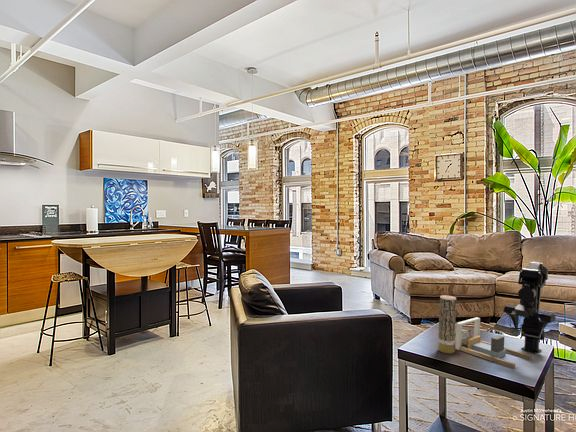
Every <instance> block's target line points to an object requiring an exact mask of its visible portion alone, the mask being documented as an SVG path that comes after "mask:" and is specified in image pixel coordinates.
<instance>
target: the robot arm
mask: <svg viewBox="0 0 576 432" xmlns="http://www.w3.org/2000/svg"><path fill="white" fill-rule="evenodd" d="M548 279H549V272H548V268H547V267H545V266H544V264H543V262H541V261H530V262H529V265H528V266H527V267H522V268H521V270H519V276H518V282H517V285H520V286H521V288H520V289H519V290H518V293H517V295H518V298H519V299H520V300H519V302H518V304H517V305H512V304H508V305H504V306H503V311H502V312H503V313H505V314H506V315H507V316H508V317H510V318H511V322H512V324H513V326H514V329H515V331H518V329H519V318H520V317H523V320H522V323H521V325H520V336H521V337H524V346H523V347H521V349H520V350H522V351H526V352H530V353H533V354H538V353H541V352H542V351H543V350H542V349H540V341H544V340H545V337H546V336H545V335H546V334H545V329H546V327H547V325H549V324H550V323H554V322H556V315H555V314H553V313H549V312H542V313H540V304H541V295H542V288H544V287H545V286H546V282H547V281H548Z"/></svg>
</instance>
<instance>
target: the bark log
mask: <svg viewBox="0 0 576 432" xmlns="http://www.w3.org/2000/svg"><path fill="white" fill-rule="evenodd" d="M439 297H440V298H439V315H438V341H437V342H438V343H437V344H438V346H437V349H438V352H441V353H443V354H449V355H450V354H454V353H455V344H456V338H455V333H456V318H457V317H456V314H457V297H456V296H452V295H445V294H443V295H440V296H439Z"/></svg>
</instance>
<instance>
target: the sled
mask: <svg viewBox="0 0 576 432" xmlns="http://www.w3.org/2000/svg"><path fill="white" fill-rule="evenodd" d="M481 340H482V336H481V335H480V336H476V337H474V336H473V337H472V338H471V339H468V345H467V348H469V349H472V350H475V351H478V352H481V353H484V354H487V355H490V356H493V357H496V358H499V359H501V358H502V357H504V356H506V355H507V352H506V350H504V347H505V336H503V335H499V334H498V335H496V336H493V337H491V339H490V341H491V342H490V343H491V345H488V344H485V343H482V342H481Z"/></svg>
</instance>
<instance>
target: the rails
mask: <svg viewBox="0 0 576 432" xmlns="http://www.w3.org/2000/svg"><path fill="white" fill-rule="evenodd" d="M481 342H482V343H485V344H488V345H491V342H489V341H485V340H482V339H481ZM504 350H506V354H510V355H512V356H513V355H514V356H516V357H517V356H518V357H520V358H523V359H527V360H528V361H529V360H530V361H532V360H533V358H534V356H533V354H532V355H531V354H528V353H525V352H522V351H519V350H515V349H511V348H508V347H505V346H504ZM460 351H462V352H464V353H467V354H469V355H472V356H476V357H478V358H482V359H485V360H488V361H491V362H493V361H494V363H495V364H499V365H501V366H505V367H508V368H510V369H511V368H512V369H516V368H517V367H516V366H517V365H516V363H514V362H512V361H509V360H505V359H502V358H496V357H493V356H490V355H487V354H484V353H481V352H478V351H475V350H472V349H469V348H468V347H466V346H464V345H461V350H460Z"/></svg>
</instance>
